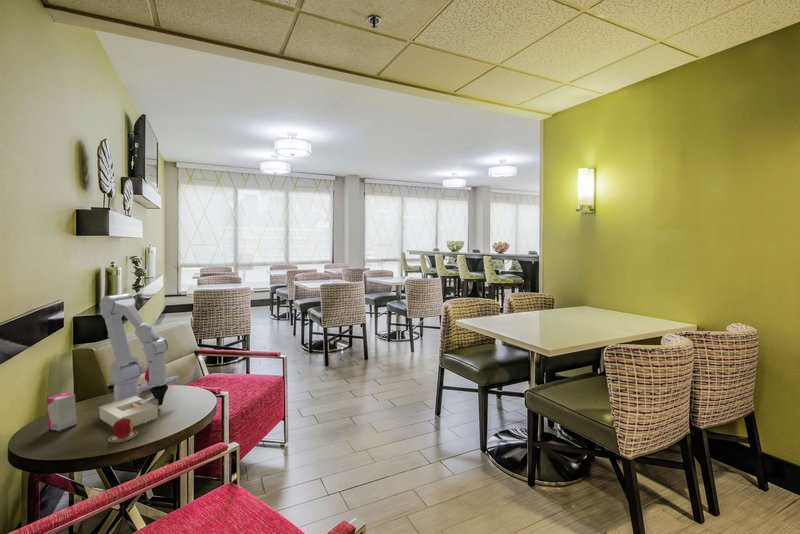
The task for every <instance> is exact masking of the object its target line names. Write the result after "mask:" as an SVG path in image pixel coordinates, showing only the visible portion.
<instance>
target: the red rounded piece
mask: <svg viewBox="0 0 800 534" xmlns="http://www.w3.org/2000/svg"><path fill="white" fill-rule="evenodd" d="M122 418H124V417H122ZM133 428H134V427H133V423H132V421H131V420H130V419H121V420H119V421H117V422H116V423H115V424H114V425H113V427H112V435H111V436H109V438H108V439H107V440H108V442H110V443H120V442H125V441H128V440H131V439H133V438H135V437H136V436H137V435H138V431H137V430H133Z"/></svg>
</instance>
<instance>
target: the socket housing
mask: <svg viewBox="0 0 800 534" xmlns="http://www.w3.org/2000/svg"><path fill="white" fill-rule="evenodd" d="M142 400H143V398H141V397H140V396H139V397H137V396H133V397H130V398H126V399H123V400H120V401H116V402H114V401H112V402H113V403H112V402H110V403H107V404H104V405H100V406H99V407H98V409H99V410H98V411H99V419H100V420H102V422H104V423H106V424H108V425H109V426H110V427H112V428H113V425H114V424H115V423H116V422H117V421H119V420H121V419H130V420H131V421H132V423H133V428H135V427H137V425H138V426H140V424H141V425H143V424H147V423H149V422H152V421H154V419H155V420H157V419H159V414H158V412H159V411H157V406H156V405H154V404H152V403H147V404H143V405H140V406H137V407H134V408H131V404H132V403H136V404H138V401H142ZM122 417H124V418H122ZM151 420H152V421H151ZM148 421H149V422H148ZM142 423H143V424H142ZM134 426H135V427H134Z"/></svg>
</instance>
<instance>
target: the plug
mask: <svg viewBox="0 0 800 534" xmlns="http://www.w3.org/2000/svg"><path fill="white" fill-rule="evenodd" d="M147 403H152V404H154V405H156V406H157V411H158V412H159V411H160V409H159V405H158V399H156V398H154V396H152V397H149V398H146V399H142V401H138V405H143V404H147Z"/></svg>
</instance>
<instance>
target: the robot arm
mask: <svg viewBox="0 0 800 534" xmlns="http://www.w3.org/2000/svg"><path fill="white" fill-rule="evenodd" d="M99 307H100V312H101V314H102V315H101V316H102V319H104V322H105V325H106V330H107V333H108V337H109V340H110V345H111V348H112V351H113V357H114V361H113V362H112V363H111V365H109V366H108V367H109V378H110V381H111V382H112V383H113V384H114V385H113V394H114V395H113V396H114V398H113V399H114V401H112V402H111V403H113V402H116V401H120V400H123V399H126V398H130V397H133V396H137V397H139V398H140V393H142V392H145V391H148V390H149V392H150V393H151V394H152V397H153V398H156V399H158V407H159V406H162V405H163V402H164V398H165V395H166V393H167V391H168V389H169V386H168V384H172V383H177V382H179V380H180V379H179V375H173V376H169V377H167V366H166V365H167V364H166V352H167V351H168V349H169V344H168V343H169V342H168V340H167V339H166V338H165V337H162V336H161V335H158V333H157V331H156V330H155V329H154V328H153V327H152V326H151V324H149V323H145V321H144V319H143V318H142V316H141V314H140V313H139V311H138V309H137V308H136V299H135V298H134V296H133V295H132V294H131V293H130V292H126V293H119V294H113V295H112V294H111V295H104V296H103V297H102V298H101V300H100V301H99ZM123 316H124V317H125V318H126V319H127V320H128V321H129V322H130V324H131V325H132V326H133V327H134V328H135V330H134V334H135V336H136V337H137V338H138V339H139V341H140V343H141V344H142V345H143V349H142V350H143V353H144V355H145V360H146V359H147V360H146V361H147V368H148V369H149V382H148V383H147V382H146V383H143V384H141V385H139V380H140V378H141V376H142V375H143V371H144V370H143V366H142V365H141V363H140V361H139V358H137V357H135V356H134V355H132V354H131V350H130V347H129V343H128V339H127V335H126V332H125V327H124V323H123V320H122V318H123Z"/></svg>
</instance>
